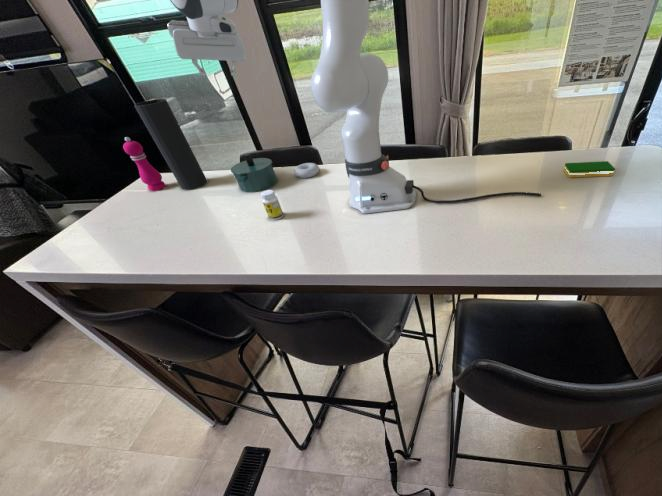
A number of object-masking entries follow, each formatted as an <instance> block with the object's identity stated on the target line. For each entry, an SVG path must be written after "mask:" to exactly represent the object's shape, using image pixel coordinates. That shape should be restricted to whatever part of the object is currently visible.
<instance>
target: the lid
mask: <svg viewBox="0 0 662 496" xmlns="http://www.w3.org/2000/svg"><path fill="white" fill-rule="evenodd" d="M243 156H244V159H245V160H243V161H241V162H238V163H235V164H234V165H233V166H231V167H230V171H231V173H232V174H233V173H234V174H239V175H243V174H251V173H255V172H259V171H262V170H264V169H266V168H268V167H269V166H271V164H272V165H273V161H272V159H270V158H268V157H257V158H253V156H252V154H251V153H249V152H247V153H245V154H243ZM234 174H233V175H234Z"/></svg>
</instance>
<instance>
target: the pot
mask: <svg viewBox="0 0 662 496" xmlns="http://www.w3.org/2000/svg"><path fill="white" fill-rule="evenodd" d="M232 174H233V176H234V179H235V180H236V183H237V186H238V188H239V189H240V191H242V192H245V193H256V192H263V191H266V190H269V188H272V187H274V186H275V185H276V184H277V182H278V178H277V175H276V172H275V169H274V167H273V163H272V164H271V166H269V167H268V168H266V169H264V170H262V171H259V172H255V173H251V174H243V175H239V174H234V173H232Z"/></svg>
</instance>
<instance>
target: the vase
mask: <svg viewBox="0 0 662 496" xmlns="http://www.w3.org/2000/svg"><path fill="white" fill-rule="evenodd" d="M133 106H134V108H135V110H136V112H137V114H138V115H139V117H140V119H141V121H142V122H143V124H144V125H145V127H146V129H147V131H148V133H149V134H150V137H151V138H152V140H153V142H154V143H155V145H156V146H157V148H158V150H159V152H160V154H161V156H162V157H163V159H164V160H165V162H166V164H167V166H168V168H169V169H170V171H171V173H172V174H173V176H174V178H175V179H176V181H177V183H178V185H179V187H180V188H181V190H183V191H184V190H185V191H190V190H196V189H199V188H202V187H203V186H205V185H206V184H207V183H208V179H207V177H206V175H205V173H204V172H203V169H202V167H201V166H200V163H199V162H198V159H197V157H196V155H195V154H194V152H193V150H192V148H191V146H190V144H189V141H188V140H187V137H186V135H185V133H184V132H183V130H182V128H181V126H180V124H179V121H178V120H177V118H176V116H175V114H174V112H173V110H172V108H171V106H170V104H169V102H168V100H167V99H166V98H156V99H149V100H144V101H141V102H137V103H135V104H134V105H133Z"/></svg>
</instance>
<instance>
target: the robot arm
mask: <svg viewBox="0 0 662 496" xmlns="http://www.w3.org/2000/svg"><path fill="white" fill-rule="evenodd" d="M169 1H170V3H171V4H172V5H173V6H174V8H176V10H177V11H179V13H181V14H182V15H183V16H185V17H186V20H176V19H171V20H170V21H169V22H168V23H167V26H166V27H167V30H168V33H169V35H170V37H171V38H172V40H173V45H174V48H175V52H176V55H177V56H178V57H179V58H180V59H181V60H191V62H192V64H193V66H194V67H195V68H196V69H197V70H198V72H199V75H200V76H202V77H203V76H204V77H205V76H206V71H205V68H204V67H201V66H200V65H199V60H201V61H202V60H205V61H231V64H232V65H233V66H232V68H229V72H230V76H231V77H237V72H236V69H237V65H238V62H246V60H247V58H248V57H247V52H246V48H245V45H244V42H243V39H242V36H241V34H240V33H239V31H237V25H236V23H235V21H234V20H232V19H230V18H228V17H226V16H223V15H228V14H233V13H235V12H236V11H237V9H238V7H239V0H169ZM320 9H321V17H322V18H321V19H322V39H321V47H320V54H319V58H318V62H317V64H316V67H315V69H314V71H313V73H312V75H311V78H310V89H311V94H312V97H313V99H314V101H315V103H316V105H318V107H320V108H321V109H322V110H323V111H324V112H326V113H345V112H346V118H345V121H344V122H343V126H342V128H341V131H340V132H341V135H340V136H341V140H342V145H343V146H342V147H343V151H344V155H345V156H344V157H345V159H344V163H345V164H344V165H345V171H346V174H347V178H348V181H349V205H350V206H351V207H352V208H353V209H356V210H358V211H360V212H361V213H362V214H373V213H381V212H390V211H398V210H399V211H400V210H408V209H410V208H411V207H413V205H414V204H415V203H416V199H417V193H416V190H417V191H419V192H420V195H421V198H422V199H423V200H424V201H426V202H430V203H434V204H457V203H463V202H469V201H471V202H472V201H476V200H477V201H478V200H482V199H486V198H487V199H488V198H494V197H501V196H517V195H518V196H535V197H541V196H542V193H540V194H539V192H528V191H527V193H526V191H508V192H507V191H506V192H500V193H491V194H485V195H478V196H474V197H473V196H472V197H466V198H461V199H449V200H448V199H447V200H446V199H445V200H444V199H442V200H433V199H429V198H427V197H425V194H424V193H425V192H424V191H423V189H422V188H420V187H418V186H416V185H415V183H414V179H407V177H406V176H405V175H404V174H402V173H401V172H399V171H397V170H396V169H394V168H393V167H391V166H390V161H389V154H387V155H384V154H383V153H382V148H381V139H380V115H381V108H382V107H381V106H382V100H383V96H384V94H385V90H386V89H387V87H388V83H389V70H388V67H387V65H386V63H385V62H384V60H383V59H382V58H381V57H380V56H378V55H376V54H373V53H372V54H370V53H364V52H362V53H361V51H362V46H363V41H364V39H365V37H366V34H367V32H368V31H369V28H370V23H371V20H370V2H369V0H320Z"/></svg>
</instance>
